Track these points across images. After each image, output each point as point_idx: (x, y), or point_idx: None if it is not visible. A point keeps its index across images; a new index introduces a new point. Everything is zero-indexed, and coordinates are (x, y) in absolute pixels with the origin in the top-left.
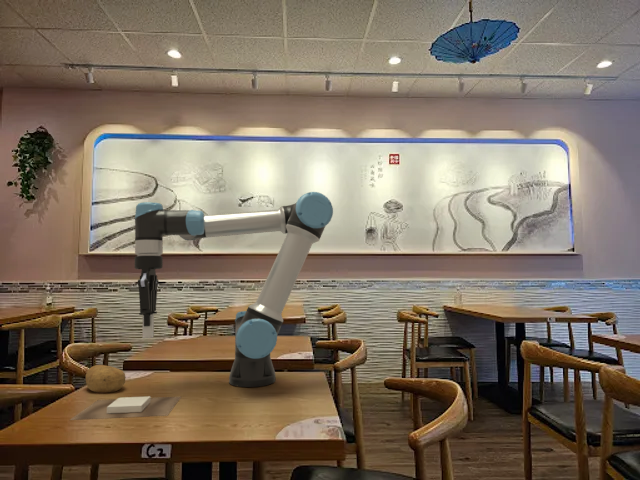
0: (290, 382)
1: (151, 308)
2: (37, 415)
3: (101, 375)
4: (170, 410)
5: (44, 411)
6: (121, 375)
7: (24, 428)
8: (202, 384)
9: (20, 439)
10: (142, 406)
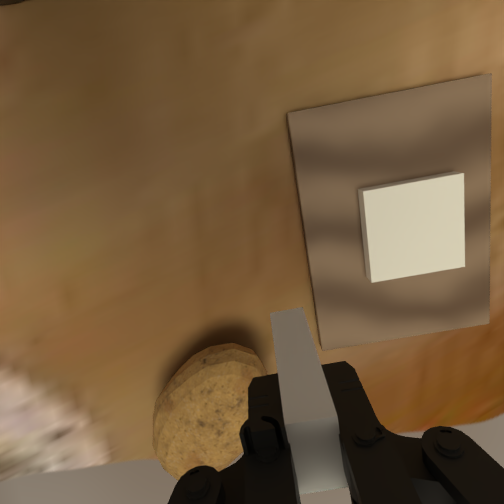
0: None
1: (380, 476)
2: (399, 423)
3: None
4: (442, 85)
5: None
6: (239, 360)
7: (486, 394)
8: (67, 116)
9: None
10: (448, 174)
